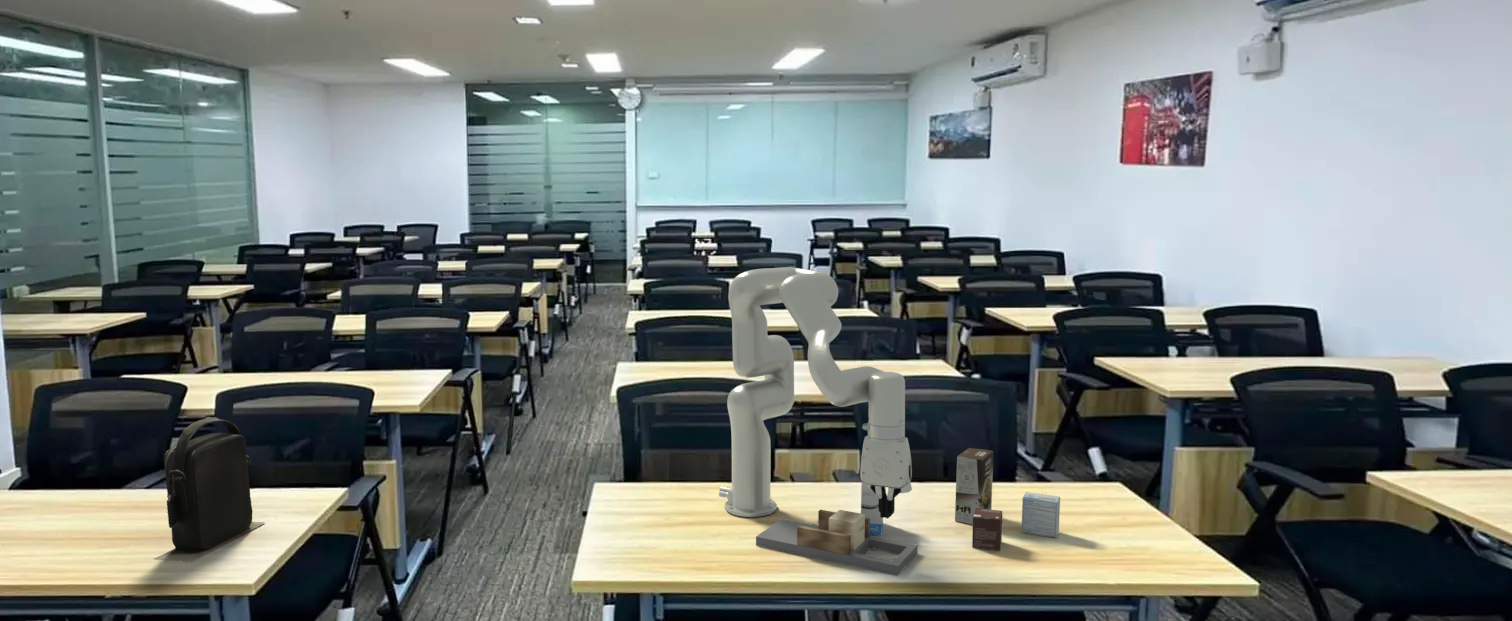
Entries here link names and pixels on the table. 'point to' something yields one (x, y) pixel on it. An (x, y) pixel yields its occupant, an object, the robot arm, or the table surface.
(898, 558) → the deck
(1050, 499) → the medicine box
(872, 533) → the ink box
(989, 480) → the coffee box
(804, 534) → the tunnel walls
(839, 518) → the maple block
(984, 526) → the box
